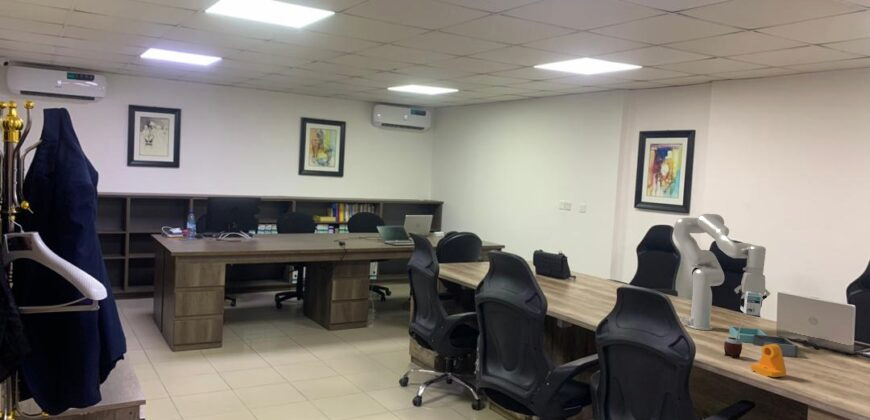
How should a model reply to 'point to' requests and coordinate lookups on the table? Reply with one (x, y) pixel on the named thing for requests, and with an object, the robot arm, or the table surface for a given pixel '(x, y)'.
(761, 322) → the table surface
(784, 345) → the tray
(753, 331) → the tray
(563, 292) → the table surface
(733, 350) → the mate gourd
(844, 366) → the table surface
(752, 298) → the light bulb box
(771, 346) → the bracket
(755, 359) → the table surface
